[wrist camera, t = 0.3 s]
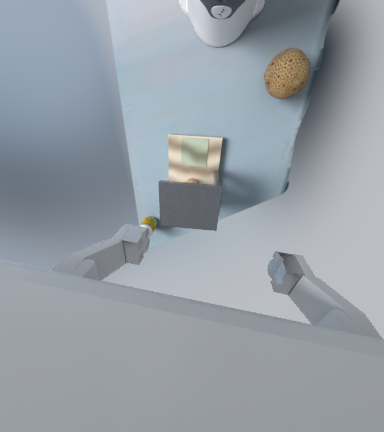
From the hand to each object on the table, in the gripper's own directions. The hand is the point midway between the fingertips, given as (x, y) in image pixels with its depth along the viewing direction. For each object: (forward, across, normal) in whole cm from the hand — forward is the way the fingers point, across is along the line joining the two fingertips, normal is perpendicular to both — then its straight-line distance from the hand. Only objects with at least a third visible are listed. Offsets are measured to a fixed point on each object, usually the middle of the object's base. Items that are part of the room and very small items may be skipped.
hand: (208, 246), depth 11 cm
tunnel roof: (+44, +5, +14) cm, 47 cm away
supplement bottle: (+44, +21, +32) cm, 58 cm away
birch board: (+46, +6, +12) cm, 48 cm away
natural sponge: (+49, -12, -16) cm, 53 cm away
